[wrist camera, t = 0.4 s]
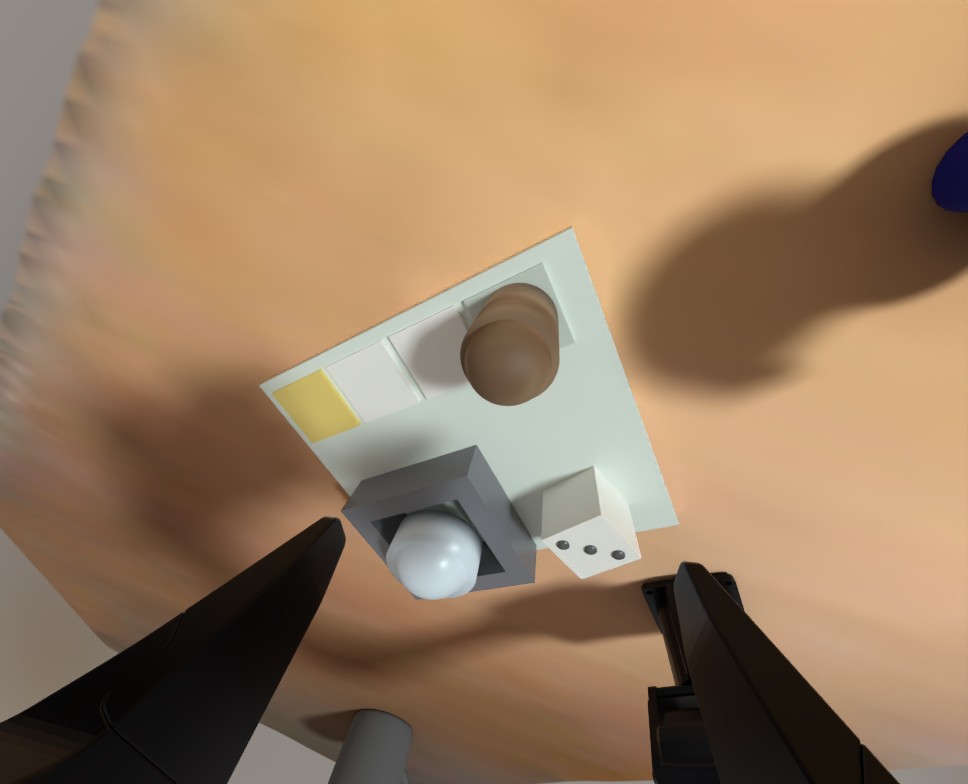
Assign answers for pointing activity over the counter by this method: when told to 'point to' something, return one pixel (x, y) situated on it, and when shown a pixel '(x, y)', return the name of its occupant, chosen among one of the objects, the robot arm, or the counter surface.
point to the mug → (374, 750)
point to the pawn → (512, 345)
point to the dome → (435, 554)
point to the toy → (953, 178)
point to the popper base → (441, 481)
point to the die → (588, 524)
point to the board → (465, 414)
